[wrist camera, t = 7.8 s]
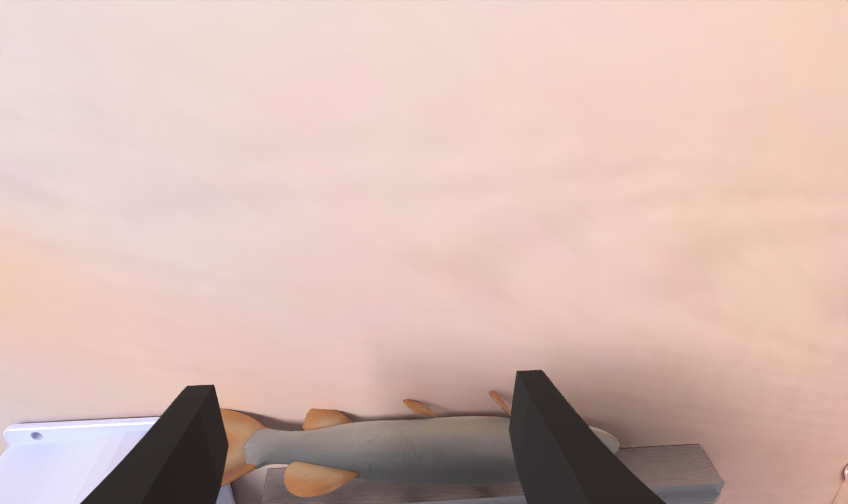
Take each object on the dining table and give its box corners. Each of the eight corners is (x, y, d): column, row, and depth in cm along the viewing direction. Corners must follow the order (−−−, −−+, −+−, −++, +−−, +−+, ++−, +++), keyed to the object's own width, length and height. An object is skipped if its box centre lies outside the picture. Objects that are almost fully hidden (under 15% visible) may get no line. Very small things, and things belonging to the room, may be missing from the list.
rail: (274, 504, 30) (265, 557, 27) (267, 468, 28) (256, 522, 26) (685, 478, 32) (713, 526, 29) (699, 444, 30) (730, 491, 27)
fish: (591, 438, 29) (628, 523, 25) (197, 438, 27) (164, 532, 23) (612, 378, 27) (658, 460, 23) (186, 372, 25) (147, 462, 20)
